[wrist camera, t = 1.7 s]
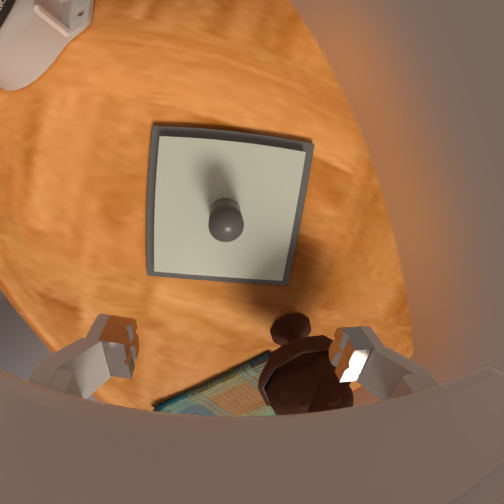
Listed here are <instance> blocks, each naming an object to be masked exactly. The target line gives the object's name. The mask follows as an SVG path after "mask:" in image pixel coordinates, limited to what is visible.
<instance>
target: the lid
mask: <svg viewBox="0 0 504 504" xmlns="http://www.w3.org/2000/svg"><path fill="white" fill-rule="evenodd" d="M305 154H306V152H303V151H297V150H291V149H285V148H279V147H272V146H266V145H258V144H251V143H243V142H234V141H224V140H214V139H202V138H187V137H168V136H160V138H159V148H158V159H157V173H156V189H155V214H154V271H155V272H166V273H178V274H190V275H203V276H216V277H230V278H245V279H261V280H278V281H282V280H283V275H284V270H285V265H286V260H287V255H288V250H289V245H290V240H291V235H292V229H293V224H294V218H295V213H296V207H297V202H298V196H299V190H300V185H301V179H302V173H303V167H304V161H305Z"/></svg>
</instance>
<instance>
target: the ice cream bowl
mask: <svg viewBox="0 0 504 504" xmlns="http://www.w3.org/2000/svg"><path fill="white" fill-rule="evenodd" d="M310 332H311V326H310V321H309V319H308V318H306V317H305V316H303V315H301V314H300V313H299V314H286V315H285V316H283V317H281V318H280V319H278V320H277V321H275V323H274V325H273V327H272V329H271V331H270V333H271V336H272V339H273V341H274V342H275V343H277V344H279V345H281V347H279V348H278V349H276V350H275V351H273V352H272V354H271V356H270V357H269V359H268V361H267V363H266V365H265V366H264V368H263V370H262V372H261V375H260V377H259V383H258V390H259V392H260V394H261V396H262V398H263V400H264V402H265V404H266V405H267V406H271V407H272V409H273V411H274V413H275V414H276V415H289V414H301V413H311V412H320V411H327V410H335V409H341V408H348V407H353V393H352V390H351V388H350V387H349V384H350V383H351V381H346V382H340V381H339V379H338V377H337V375H336V373H335V369H336V367H335V366H334V365H332V364H331V362H330V360H329V348H330V345H331V343H332V342H333V340H331V339H329V338H328V337H326V336H324V335H321V336H311V337H308V335H309V334H310Z"/></svg>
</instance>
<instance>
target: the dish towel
mask: <svg viewBox="0 0 504 504" xmlns="http://www.w3.org/2000/svg"><path fill="white" fill-rule="evenodd" d="M270 356H271V354H270V352H266V353H264V354H262V355H260V356H258V357H256V358H254V359H252V360H250V361H248V362H246V363H244V364H242V365H240V366H239V367H237V368H235V369H233V370H232V371H229V372H228V373H226V374H223V375H222V376H219V377H217V378H216V379H213V380H211V381H209V382H207V383H205V384H203V385H201V386H198V387H196V388H194V389H191V390H189V391H187V392H184V393H182V394H180V395H178V396H176V397H173V398H171V399H169V400H167V401H165V402H164V403H162V404H160V405H157V406H155V409H154V410H153V411H157V412H165V413H175V414H187V415H203V416H273V415H276V414H275V413H274V411H273V409H272V407H271V406H267V405H266V404H265V402H264V400H263V398H262V396H261V394H260V392H259V390H258V383H259V377H260V375H261V372H262V370H263V368H264V366H265V365H266V363H267V361H268V359H269V357H270Z"/></svg>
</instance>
